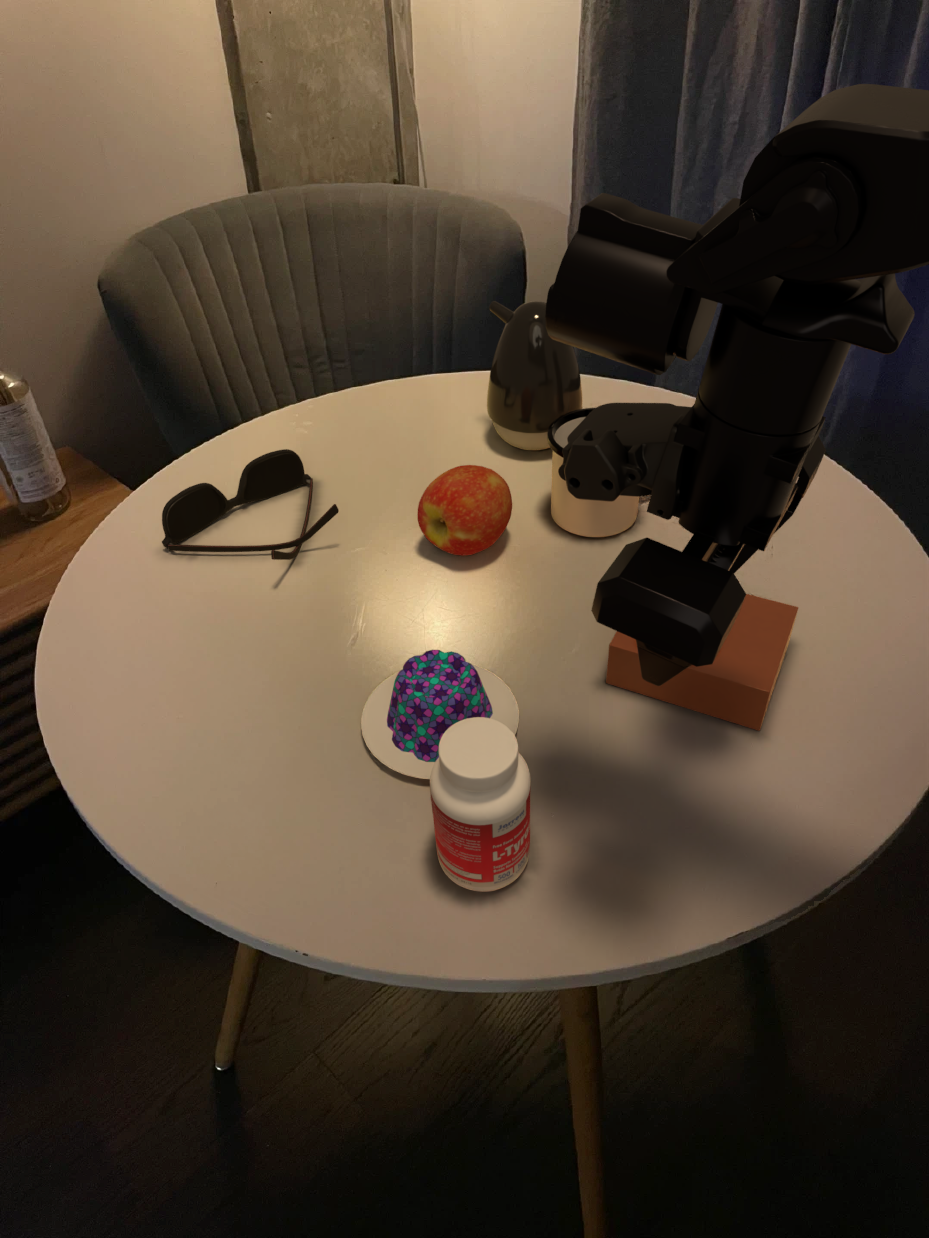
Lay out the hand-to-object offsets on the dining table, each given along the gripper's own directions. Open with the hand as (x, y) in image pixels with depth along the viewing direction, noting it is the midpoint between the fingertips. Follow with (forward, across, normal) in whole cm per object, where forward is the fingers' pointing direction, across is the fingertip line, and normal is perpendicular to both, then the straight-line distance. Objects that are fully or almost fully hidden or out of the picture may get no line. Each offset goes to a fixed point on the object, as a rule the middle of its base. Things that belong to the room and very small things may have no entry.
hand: (681, 631), depth 52 cm
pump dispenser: (+19, -38, -28) cm, 50 cm away
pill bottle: (+16, +11, -6) cm, 20 cm away
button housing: (+15, -13, 0) cm, 20 cm away
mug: (+17, -29, -15) cm, 37 cm away
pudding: (+17, +2, -15) cm, 22 cm away
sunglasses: (+20, -10, -41) cm, 47 cm away
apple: (+18, -18, -24) cm, 35 cm away
